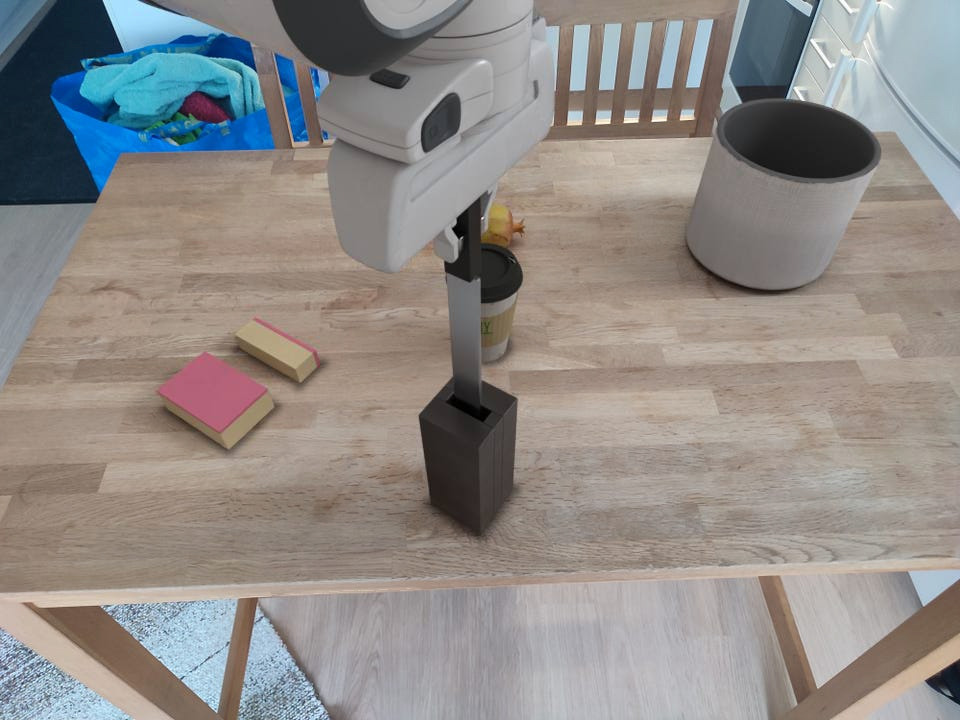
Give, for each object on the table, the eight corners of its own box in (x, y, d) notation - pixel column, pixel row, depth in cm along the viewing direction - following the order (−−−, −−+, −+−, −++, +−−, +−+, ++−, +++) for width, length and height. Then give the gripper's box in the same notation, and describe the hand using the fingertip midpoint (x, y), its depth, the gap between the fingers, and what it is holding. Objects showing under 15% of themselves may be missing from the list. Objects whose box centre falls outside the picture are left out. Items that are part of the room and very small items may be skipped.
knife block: (480, 536, 74) (478, 448, 61) (430, 505, 77) (418, 415, 63) (513, 490, 78) (518, 398, 64) (464, 462, 81) (459, 368, 67)
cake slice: (295, 369, 87) (316, 350, 89) (234, 334, 91) (255, 316, 93) (300, 383, 89) (320, 364, 91) (240, 348, 93) (260, 331, 95)
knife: (476, 423, 63) (471, 208, 44) (451, 409, 64) (435, 194, 45) (485, 411, 64) (484, 196, 45) (460, 398, 65) (448, 182, 46)
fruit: (461, 229, 101) (527, 230, 100) (464, 194, 104) (527, 194, 104) (464, 256, 107) (526, 256, 107) (466, 222, 110) (526, 222, 110)
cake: (228, 450, 82) (218, 431, 79) (167, 409, 86) (155, 390, 83) (274, 406, 86) (267, 388, 83) (214, 370, 91) (204, 350, 88)
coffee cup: (443, 327, 96) (437, 246, 84) (508, 315, 97) (511, 234, 86) (458, 378, 89) (454, 298, 78) (527, 364, 91) (533, 284, 79)
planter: (690, 291, 100) (726, 178, 85) (677, 204, 114) (706, 93, 99) (841, 301, 98) (906, 187, 83) (809, 211, 112) (859, 99, 97)
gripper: (504, -14, 45) (500, 164, 55) (291, 116, 34) (338, 308, 44) (586, 6, 43) (567, 188, 53) (387, 153, 31) (412, 346, 42)
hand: (461, 244), depth 49 cm, fingers closed on knife, 2 cm apart
